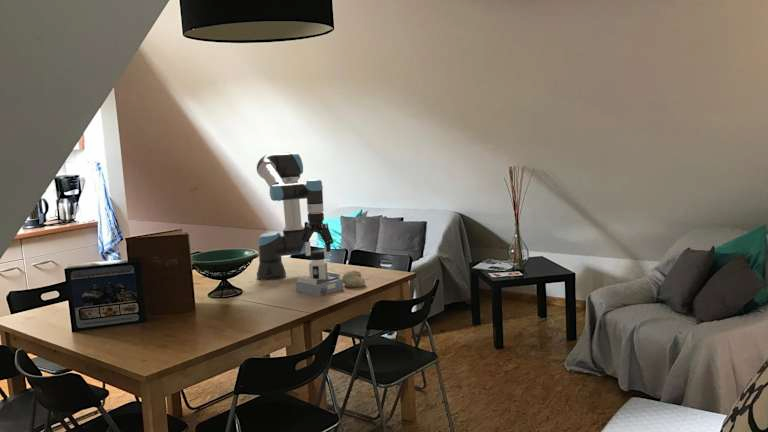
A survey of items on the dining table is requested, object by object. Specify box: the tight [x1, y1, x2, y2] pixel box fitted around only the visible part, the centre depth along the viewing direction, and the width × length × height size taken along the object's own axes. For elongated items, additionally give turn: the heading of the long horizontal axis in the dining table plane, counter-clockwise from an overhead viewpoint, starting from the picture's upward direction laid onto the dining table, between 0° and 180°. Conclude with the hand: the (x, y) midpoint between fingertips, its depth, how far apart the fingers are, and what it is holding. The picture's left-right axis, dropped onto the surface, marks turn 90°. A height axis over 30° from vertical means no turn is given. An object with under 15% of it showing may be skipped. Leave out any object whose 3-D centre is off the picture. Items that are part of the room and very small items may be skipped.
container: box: [308, 250, 328, 280], centre depth 320 cm, size 8×8×13 cm
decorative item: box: [341, 270, 366, 288], centre depth 327 cm, size 12×9×10 cm
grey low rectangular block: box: [294, 270, 344, 297], centre depth 321 cm, size 17×16×7 cm
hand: (317, 256), depth 320 cm, fingers open, 13 cm apart
